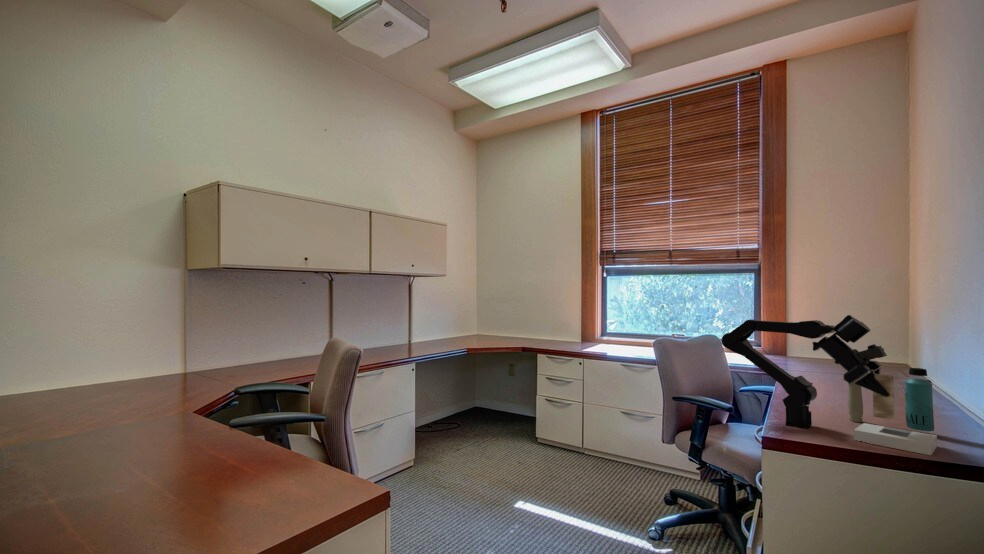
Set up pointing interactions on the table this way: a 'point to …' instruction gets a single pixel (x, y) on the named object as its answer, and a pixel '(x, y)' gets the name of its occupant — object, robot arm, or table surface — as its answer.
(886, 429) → the block
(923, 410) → the beverage bottle
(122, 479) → the table surface
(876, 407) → the plug
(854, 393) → the handle
